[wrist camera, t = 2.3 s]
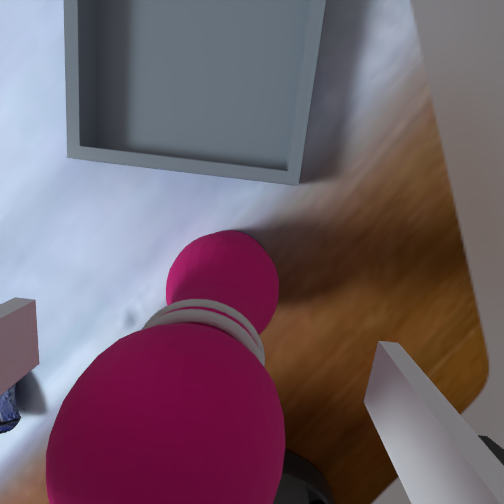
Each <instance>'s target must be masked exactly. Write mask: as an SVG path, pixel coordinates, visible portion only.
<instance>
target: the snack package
mask: <svg viewBox="0 0 504 504" xmlns="http://www.w3.org/2000/svg"><path fill="white" fill-rule="evenodd" d="M15 384H16V383H15ZM15 384H14V385H13V386H11V387H10V388H9V389H8V390H7V391H5V392H4V393H3V394H2V395H1V396H0V434H1V433H5V432H7V431H10V430H12V429H13V428H14V427H15V426H16V425H17V424H18V423H19V421H20V419H21V416H20V415H19V413H18V410H17V407H16V401H15ZM24 410H25V409H24Z"/></svg>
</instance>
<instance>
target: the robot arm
mask: <svg viewBox="0 0 504 504" xmlns="http://www.w3.org/2000/svg"><path fill="white" fill-rule="evenodd" d="M38 364H39V351H38V335H37V319H36V302H35V300H32V299H24V298H13V299H11V300H9V301H7V302H5V303H3V304H0V396H1V395H2V394H3V393H4V392H5V391H7V390H8V389H9V388H10V387H11V386H13V385H14V384H15V383H16V382H18V381H19V380H20V379H21V378H22V377H24V376H25V375H26V374H27V373H28V372H30V371H31V370H32V369H33V368H34V367H36V366H37V365H38ZM364 404H365V406H366V408H367V410H368V412H369V414H370V417H371V419H372V421H373V423H374V425H375V427H376V429H377V431H378V434H379V436H380V438H381V440H382V442H383V444H384V446H385V448H386V451H387V453H388V455H389V457H390V459H391V461H392V463H393V465H394V468H395V470H396V472H397V474H398V476H399V478H400V480H401V482H402V484H403V487H404V489H405V491H406V493H407V495H408V497H409V500H410V501H411V504H504V449H502V448H501V447H500V446H499V445H497V444H496V443H495V442H493V441H492V440H491V439H490V438H488V437H487V436H480V435H477V434H476V433H475V432H474V431H473V430H472V428H471V427H470V426H469V425H468V424H467V423H466V421H465V420H464V419H463V418H462V417H461V416H460V414H459V413H458V412H457V411H456V410H455V409H454V407H453V406H452V405H451V404H450V403H449V402H448V400H447V399H446V398H445V397H444V396H443V395H442V393H441V392H440V391H439V390H438V389H437V387H436V386H435V385H434V384H433V383H432V382H431V380H430V379H429V378H428V377H427V376H426V375H425V373H424V372H423V371H422V370H421V369H420V368H419V366H418V365H417V364H416V363H415V362H414V361H413V359H412V358H411V357H410V356H409V355H408V354H407V352H406V351H405V350H404V349H403V348H402V347H401V345H400V344H399V343H393V342H385V341H378V345H377V349H376V353H375V357H374V362H373V366H372V370H371V374H370V378H369V382H368V386H367V390H366V395H365V399H364ZM273 504H335V502H334V498H333V494H332V491H331V489H330V486H329V484H328V483H327V481H326V479H325V478H324V477H323V475H322V474H321V473H320V472H319V471H318V470H317V469H316V468H315V467H314V466H313V465H312V464H310V463H309V462H308V461H306V460H305V459H303V458H301V457H299V456H297V455H295V454H293V453H291V452H288V451H285V454H284V461H283V469H282V476H281V479H280V482H279V486H278V489H277V492H276V495H275V498H274V501H273Z"/></svg>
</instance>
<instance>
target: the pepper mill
mask: <svg viewBox="0 0 504 504" xmlns="http://www.w3.org/2000/svg"><path fill="white" fill-rule="evenodd" d="M278 295H279V280H278V274H277V271H276V268H275V265H274V263H273V261H272V260H271V258H270V257H269V255H268V254H267V253H266V252H265V250H264V249H263V248H262V246H261V245H260V244H259V243H258V242H257V241H256V240H255V239H254V238H252V237H251V236H249V235H247V234H245V233H242V232H239V231H232V230H227V231H220V232H216V233H213V234H209V235H206V236H203V237H200V238H198V239H196V240H194V241H193V242H191V243H190V244H189V245H187V246H186V247H185V248H184V249H183V250H182V251H181V252H180V254H179V255H178V257H177V258H176V260H175V261H174V263H173V265H172V267H171V268H170V271H169V274H168V278H167V284H166V301H167V305H168V306H166V307H164V308H163V309H161V310H159V311H158V312H157V313H156V314H154V315H153V316H152V317H151V318H150V319H149V320H148V322H147V323H146V324H145V326H144V327H143V329H141V330H140V331H137V332H134V333H132V334H130V335H127V336H125V337H123V338H121V339H119V340H118V341H116V342H115V343H114V344H113V345H111V346H110V347H109V348H107V349H106V350H105V351H104V352H102V353H101V354H100V355H98V356H97V357H96V359H95V360H94V361H93V362H92V363H91V364H90V366H89V367H88V368H87V369H86V370H85V371H84V372H83V374H82V375H81V376H80V377H79V378H78V380H77V381H76V383H75V384H74V386H73V387H72V389H71V390H70V392H69V393H68V395H67V396H66V398H65V399H64V401H63V403H62V405H61V408H60V410H59V413H58V415H57V417H56V420H55V423H54V426H53V428H52V431H51V434H50V437H49V442H48V447H47V452H46V485H47V494H48V499H49V503H50V504H273V501H274V498H275V495H276V492H277V489H278V486H279V482H280V479H281V476H282V469H283V461H284V454H285V428H284V415H283V411H282V408H281V404H280V400H279V397H278V393H277V390H276V386H275V384H274V382H273V380H272V378H271V377H270V375H269V373H268V372H267V370H266V369H265V367H264V365H265V355H264V348H263V345H262V342H261V339H260V337H259V334H260V333H261V332H262V331H263V330H264V329H265V328H266V327H267V325H268V324H269V322H270V320H271V318H272V316H273V314H274V312H275V310H276V307H277V303H278Z"/></svg>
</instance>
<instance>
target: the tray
mask: <svg viewBox="0 0 504 504" xmlns="http://www.w3.org/2000/svg"><path fill="white" fill-rule="evenodd" d="M325 4H326V0H64V36H65V78H66V121H67V158H74V159H81V160H88V161H96V162H104V163H112V164H120V165H129V166H137V167H145V168H154V169H162V170H170V171H179V172H187V173H195V174H204V175H212V176H220V177H228V178H237V179H245V180H253V181H262V182H270V183H278V184H287V185H299V179H300V172H301V165H302V159H303V152H304V145H305V138H306V132H307V125H308V118H309V112H310V105H311V98H312V92H313V85H314V78H315V71H316V65H317V58H318V51H319V45H320V38H321V31H322V24H323V18H324V11H325Z"/></svg>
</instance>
